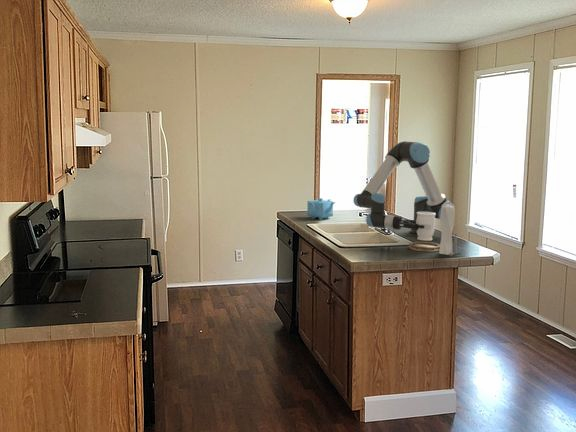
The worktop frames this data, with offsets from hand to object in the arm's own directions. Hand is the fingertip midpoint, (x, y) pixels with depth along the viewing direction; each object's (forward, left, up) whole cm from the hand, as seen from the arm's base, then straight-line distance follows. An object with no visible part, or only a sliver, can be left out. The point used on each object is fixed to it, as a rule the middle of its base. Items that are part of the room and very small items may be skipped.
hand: (433, 225), depth 333 cm
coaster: (0, -4, -13) cm, 14 cm away
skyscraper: (+7, +10, -14) cm, 18 cm away
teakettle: (-68, -96, -13) cm, 119 cm away
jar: (0, -4, -8) cm, 9 cm away
